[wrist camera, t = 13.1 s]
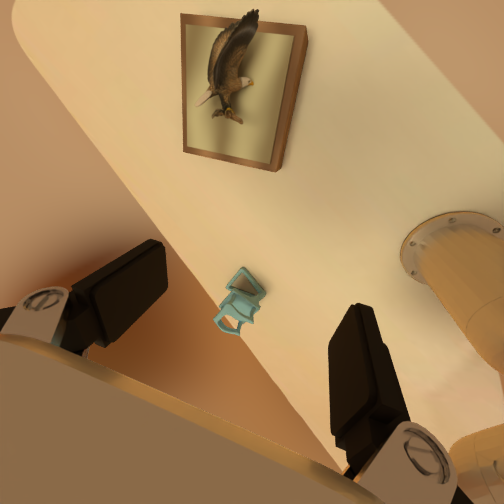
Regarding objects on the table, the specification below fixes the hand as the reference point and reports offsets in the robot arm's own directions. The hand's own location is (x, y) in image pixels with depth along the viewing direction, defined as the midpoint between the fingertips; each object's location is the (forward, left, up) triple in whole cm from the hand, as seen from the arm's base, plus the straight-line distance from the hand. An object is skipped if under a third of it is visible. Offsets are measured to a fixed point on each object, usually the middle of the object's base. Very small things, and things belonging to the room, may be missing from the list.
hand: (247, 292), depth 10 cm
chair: (+5, +25, -28) cm, 38 cm away
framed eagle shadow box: (+11, -9, -28) cm, 32 cm away
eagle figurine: (+10, -11, -24) cm, 28 cm away
